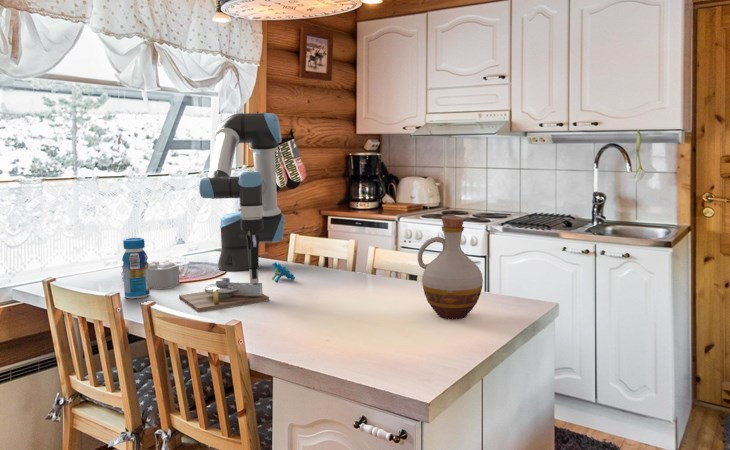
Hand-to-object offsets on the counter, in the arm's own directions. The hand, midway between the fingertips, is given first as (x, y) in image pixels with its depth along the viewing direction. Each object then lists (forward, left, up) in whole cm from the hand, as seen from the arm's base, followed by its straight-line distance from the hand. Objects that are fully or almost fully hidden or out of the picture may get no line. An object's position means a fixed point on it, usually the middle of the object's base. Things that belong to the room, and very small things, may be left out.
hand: (254, 287), depth 204 cm
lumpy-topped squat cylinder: (-39, -21, -4) cm, 45 cm away
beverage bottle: (-26, -32, -4) cm, 42 cm away
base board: (-4, -9, -4) cm, 11 cm away
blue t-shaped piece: (-18, +19, -4) cm, 27 cm away
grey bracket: (-2, -7, -2) cm, 7 cm away
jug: (+54, +40, -4) cm, 67 cm away
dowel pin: (+4, -15, -2) cm, 16 cm away
